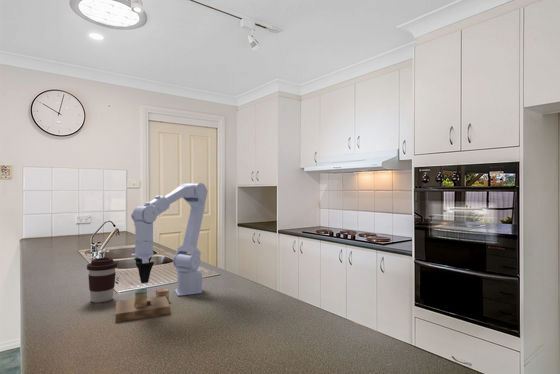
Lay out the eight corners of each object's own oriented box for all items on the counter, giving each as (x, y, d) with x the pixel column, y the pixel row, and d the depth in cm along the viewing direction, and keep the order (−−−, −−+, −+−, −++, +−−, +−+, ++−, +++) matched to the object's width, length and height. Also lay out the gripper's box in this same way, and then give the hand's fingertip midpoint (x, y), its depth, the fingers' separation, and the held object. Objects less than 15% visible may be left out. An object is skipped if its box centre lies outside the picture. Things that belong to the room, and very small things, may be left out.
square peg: (146, 309, 112) (146, 288, 112) (146, 312, 108) (147, 291, 108) (134, 310, 110) (135, 289, 110) (135, 314, 107) (135, 292, 107)
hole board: (165, 302, 118) (165, 295, 118) (169, 313, 107) (169, 306, 107) (116, 309, 111) (116, 301, 111) (115, 322, 100) (115, 313, 100)
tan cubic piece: (165, 299, 122) (165, 288, 122) (168, 301, 120) (168, 290, 120) (155, 301, 120) (155, 289, 120) (158, 303, 117) (159, 292, 117)
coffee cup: (103, 305, 115) (104, 262, 115) (79, 303, 117) (80, 261, 117) (122, 296, 125) (123, 257, 125) (100, 294, 127) (100, 256, 127)
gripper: (130, 238, 117) (130, 276, 117) (132, 244, 104) (131, 287, 104) (151, 237, 120) (151, 274, 120) (155, 243, 107) (155, 284, 107)
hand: (143, 280), depth 112 cm, fingers open, 7 cm apart
